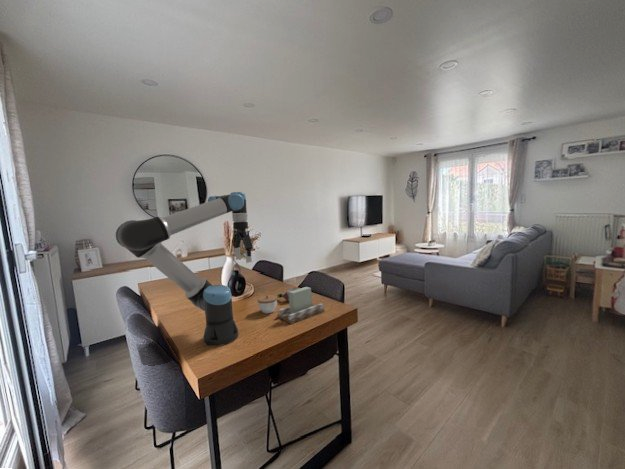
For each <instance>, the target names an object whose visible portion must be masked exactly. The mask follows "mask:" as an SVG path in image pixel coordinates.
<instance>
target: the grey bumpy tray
mask: <svg viewBox="0 0 625 469" xmlns="http://www.w3.org/2000/svg"><path fill="white" fill-rule="evenodd" d="M277 312H278V314H277V317H278V318H279V319H282V320H284V321H285V322H287V323H289V324H291V325H293V324H296V323H298V322H301V321H303V320H306V319H308V318H312V317H314V316H316V315H319V314H321V313H324V312H325V308H324V304H323V303H318V304H314V303H312V307H309V308H307V309H304V310H301V311H298V312H295V313H292V314H290V305H289V306H286V307H282V308H280V309H278V311H277Z"/></svg>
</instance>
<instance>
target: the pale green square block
mask: <svg viewBox="0 0 625 469" xmlns="http://www.w3.org/2000/svg"><path fill="white" fill-rule="evenodd" d="M288 302H289V306H290V314H292V313H295V312H298V311H301V310H304V309H307V308H309V307H312V304H313V299H312V288H311V287H308V286H305V287H302V288H300V287H299V289H297V290H293V291H290V292H289V301H288Z"/></svg>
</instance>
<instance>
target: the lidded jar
mask: <svg viewBox="0 0 625 469" xmlns="http://www.w3.org/2000/svg"><path fill="white" fill-rule="evenodd" d="M257 303H258V304H257V305H258V309H259V310H260V311H261V312H262V313H263V314H271V313H274V311H275V310H276V309H277V306H278V305H277V304H278V298H277V296H276V295H273V294H269V295H268V294H267V295H263V296H260V297H258V298H257Z"/></svg>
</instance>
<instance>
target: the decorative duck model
mask: <svg viewBox="0 0 625 469" xmlns="http://www.w3.org/2000/svg"><path fill="white" fill-rule="evenodd" d="M297 289H300V287H299V288H298V287H293V288H288V289H287V290H286V291H285V293H284V294H282V293H278V294H277V296H276V297H277V299H280V298H284V300H286V301H288V302H289V292H290V291H293V290H297Z"/></svg>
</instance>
